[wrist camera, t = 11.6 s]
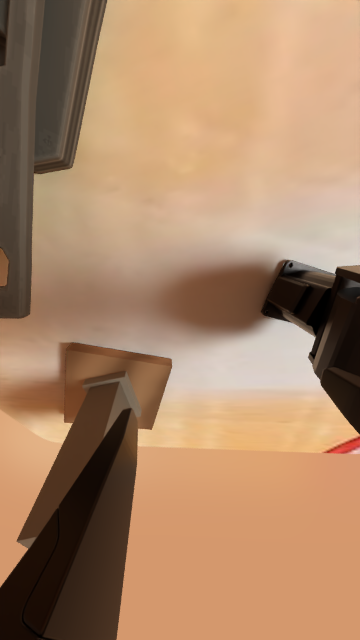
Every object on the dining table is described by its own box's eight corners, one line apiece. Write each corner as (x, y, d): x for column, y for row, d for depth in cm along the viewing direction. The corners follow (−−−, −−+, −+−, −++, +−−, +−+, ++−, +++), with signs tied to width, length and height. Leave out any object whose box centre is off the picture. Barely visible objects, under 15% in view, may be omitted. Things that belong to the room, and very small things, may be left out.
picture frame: (126, 371, 21) (86, 522, 10) (141, 409, 24) (124, 559, 13) (85, 379, 21) (-2, 541, 10) (105, 417, 24) (56, 574, 13)
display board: (171, 359, 23) (172, 366, 22) (152, 420, 27) (151, 429, 26) (72, 342, 21) (66, 349, 19) (69, 412, 25) (64, 422, 24)
